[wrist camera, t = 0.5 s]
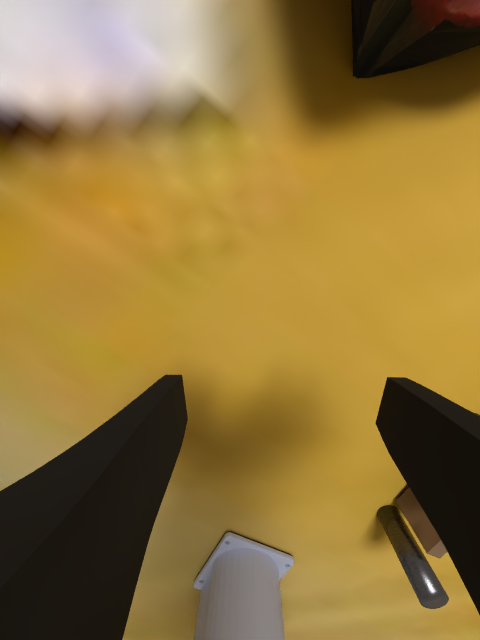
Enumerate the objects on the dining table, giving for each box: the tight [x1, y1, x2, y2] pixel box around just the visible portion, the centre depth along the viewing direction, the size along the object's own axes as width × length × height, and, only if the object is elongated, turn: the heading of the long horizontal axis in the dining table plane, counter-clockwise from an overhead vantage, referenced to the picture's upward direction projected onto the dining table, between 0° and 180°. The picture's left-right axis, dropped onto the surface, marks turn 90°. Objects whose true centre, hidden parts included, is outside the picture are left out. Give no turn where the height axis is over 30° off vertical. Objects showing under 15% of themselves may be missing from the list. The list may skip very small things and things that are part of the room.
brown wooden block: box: [396, 487, 447, 558], centre depth 19 cm, size 8×2×4 cm, turn 155°
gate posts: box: [377, 413, 480, 609], centre depth 18 cm, size 14×2×6 cm, turn 155°
